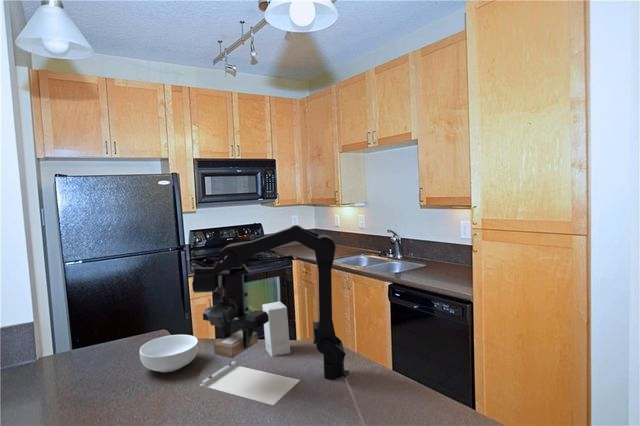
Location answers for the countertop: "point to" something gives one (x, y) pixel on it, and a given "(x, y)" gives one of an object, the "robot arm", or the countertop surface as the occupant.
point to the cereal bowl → (169, 352)
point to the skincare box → (276, 329)
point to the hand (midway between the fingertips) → (236, 346)
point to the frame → (233, 344)
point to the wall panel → (250, 383)
